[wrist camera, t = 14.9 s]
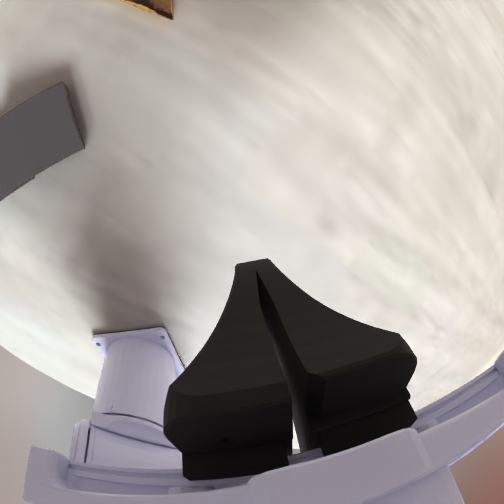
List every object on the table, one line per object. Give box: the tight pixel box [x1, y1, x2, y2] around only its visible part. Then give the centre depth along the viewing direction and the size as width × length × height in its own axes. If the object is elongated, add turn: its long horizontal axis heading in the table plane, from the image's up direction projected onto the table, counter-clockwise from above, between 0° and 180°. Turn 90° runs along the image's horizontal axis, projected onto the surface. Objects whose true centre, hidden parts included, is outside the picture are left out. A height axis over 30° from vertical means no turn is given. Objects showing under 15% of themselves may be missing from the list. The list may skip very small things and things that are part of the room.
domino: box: [0, 82, 85, 197], centre depth 13 cm, size 2×5×7 cm
